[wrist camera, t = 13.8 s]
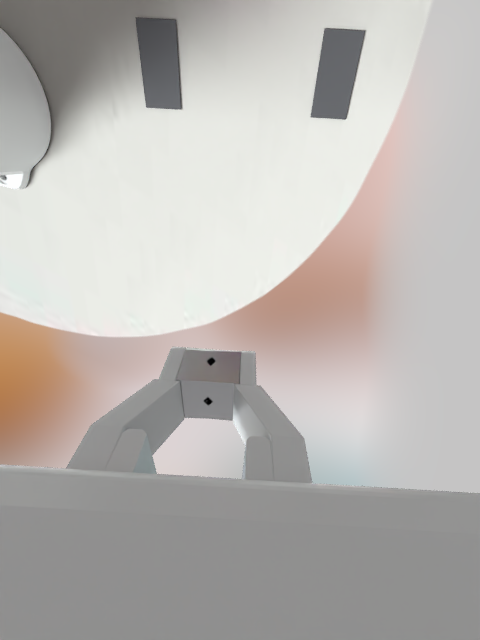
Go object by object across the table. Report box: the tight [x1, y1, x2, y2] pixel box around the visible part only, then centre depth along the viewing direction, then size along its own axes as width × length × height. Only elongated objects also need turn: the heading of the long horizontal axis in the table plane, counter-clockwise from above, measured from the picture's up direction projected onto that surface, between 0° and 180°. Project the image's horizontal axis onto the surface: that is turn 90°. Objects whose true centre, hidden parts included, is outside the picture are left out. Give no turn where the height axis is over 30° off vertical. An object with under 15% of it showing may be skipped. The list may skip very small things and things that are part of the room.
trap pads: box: [136, 18, 365, 119], centre depth 28 cm, size 23×7×1 cm, turn 87°
